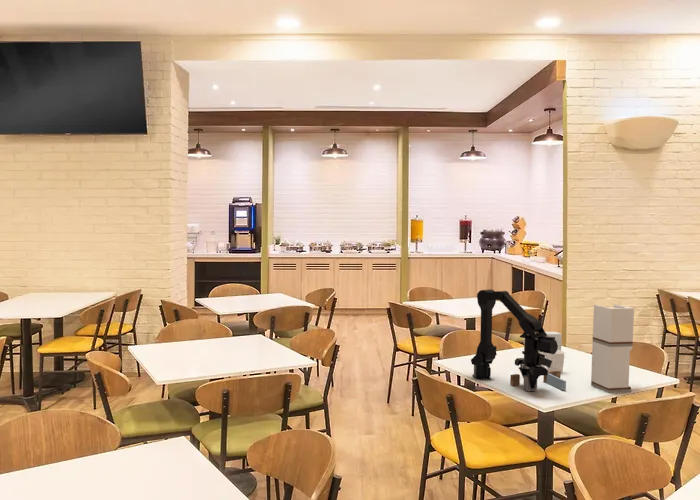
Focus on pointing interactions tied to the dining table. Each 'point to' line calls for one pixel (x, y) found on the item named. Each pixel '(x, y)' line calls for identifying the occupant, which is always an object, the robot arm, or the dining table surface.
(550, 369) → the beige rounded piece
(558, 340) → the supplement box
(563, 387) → the door
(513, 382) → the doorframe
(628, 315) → the striped white pillar
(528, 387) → the block
